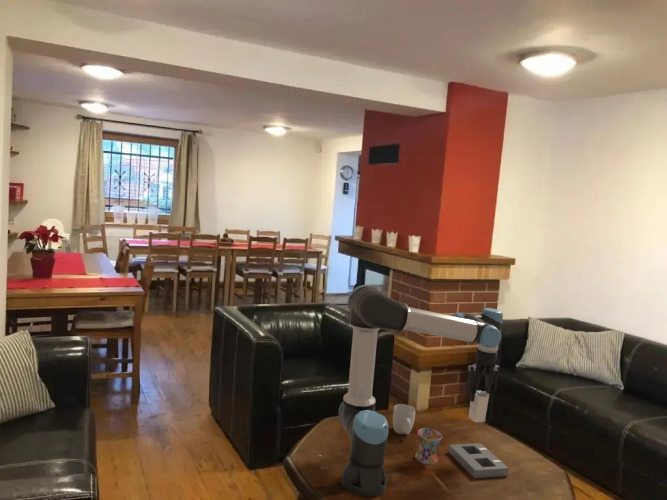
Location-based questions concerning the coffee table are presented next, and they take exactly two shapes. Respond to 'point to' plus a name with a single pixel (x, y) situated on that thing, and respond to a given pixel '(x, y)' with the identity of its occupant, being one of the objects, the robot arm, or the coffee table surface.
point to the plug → (479, 407)
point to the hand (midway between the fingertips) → (478, 408)
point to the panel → (478, 460)
